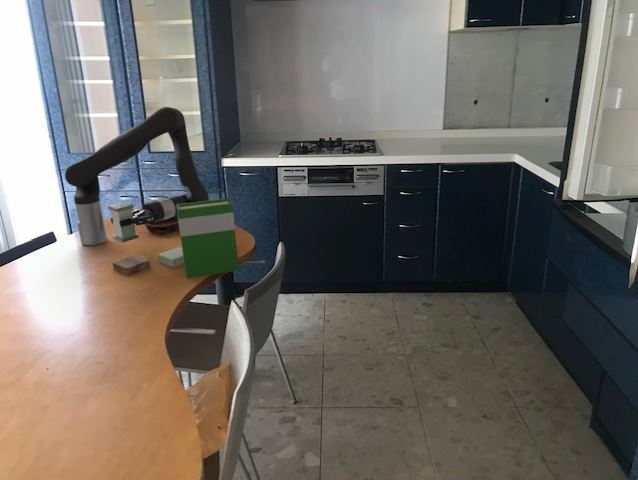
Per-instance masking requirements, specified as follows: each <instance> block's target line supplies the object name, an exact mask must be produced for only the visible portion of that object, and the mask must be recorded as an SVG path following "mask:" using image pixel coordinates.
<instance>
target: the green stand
mask: <svg viewBox="0 0 638 480" xmlns="http://www.w3.org/2000/svg"><path fill="white" fill-rule="evenodd" d="M157 258H158V263H160V264H163V265H166V266H168V267H170V268H176V267H179V266H182V265H184V258H183V250H182V247H180V246H178V247H175V248H172V249H169V250H166V251H163V252H161V253H158V254H157Z"/></svg>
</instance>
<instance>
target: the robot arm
mask: <svg viewBox="0 0 638 480" xmlns="http://www.w3.org/2000/svg"><path fill="white" fill-rule="evenodd" d="M186 126H187V125H186V120H185V117H184V115H183V112H182V111H180V109H178V108H176V107H175V108H174V107H170V106H163V107H160V108H159V109H157V110H156V111H155V112H154V113H152V114H151V115H150V116H149V117H147V118H145V120H143V121H142V122H141V123H138V124H137V125H135V126H133V127H131V128H129V129H128V130H126V131H124V132H123V133H121V134H119V135H117V136H116V137H114V138H113V139H111V140H109V141H107V143H105V144H103V146H101V147H100V148H98V149H97V150H96V151H95V152H94V153H92V154H91V155H89V156H87V157H86V158H83V159H81V160H78V161H75V162H73V163H72V164H70V165H68V167H67V168H66V170H65V172H64V178H65V181H66V182H67V183H68V184H69V185H70V186H72V187H75V193H74V196H73V201H74V204H75V205H74V206H75V210H76V215H77V220H78V222H77V228H78V231H79V232H78V234H79V238H80V243H81V245H82V246H96V245H101V244H104V243H106V242H107V241H108V237H107V229H106V225H105V220H104V215H103V210H102V209H103V208H102V203H101V199H100V195H101V194H100V192H101V187H100V181H99V176H100V174H102V173H104V172H105V171H107V170H110V169H112V168H116V166H117V167H118V166H119V165H121V164H122V163H125V162H127V161H129V160H131V159H132V158H134V157H135V156H136V155H139V154H140V153H141V152H142V151H143V150H144V148H146V146H147V145H148V144H149V143H150V142H152V141H153V140H155V139H156V138H158V137H160V136H162V135H165V134H168V135H169V137H170V140H171V142H172V146H173V152H174V153H173V154H174V164H175V168H176V172H177V175H178V178H179V182H180V184H181V185H182V187H186V188H187V189H188V191H189V192H187V193H184V194H181V195H176V196H171V197H168V198H167V197H166V198H161V199H157V200H153V201H152V200H151V201H149V202H145V203H144V204H143V206H142V208H137V209H134V208H132V213H133V217H131V219H130V218H128V219H124V220H121V221H119V223H120V227H125V226H128V225H131V224H132V225H134V226H142V225H145V224H147V223H155V222H159V221H162V220H166V219H169V218H171V217H173V216H177V215H178V214H177V207H176V204H184V203H192V202H201V201H209V200H210V198H209V192H208V191H207V189H206V187H205V186H204V184H203V183H202V182H203V181H201V180H200V178H199V175H198V171H197V168H196V164H195V161H194V158H193V155H192V152H191V149H190V148H191V147H190V144H189V143H190V142H189V139H188V138H189V137H188V134H187V132H188V131H187V127H186ZM110 222H111V224H112V225H113V221H112V217H110Z"/></svg>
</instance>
